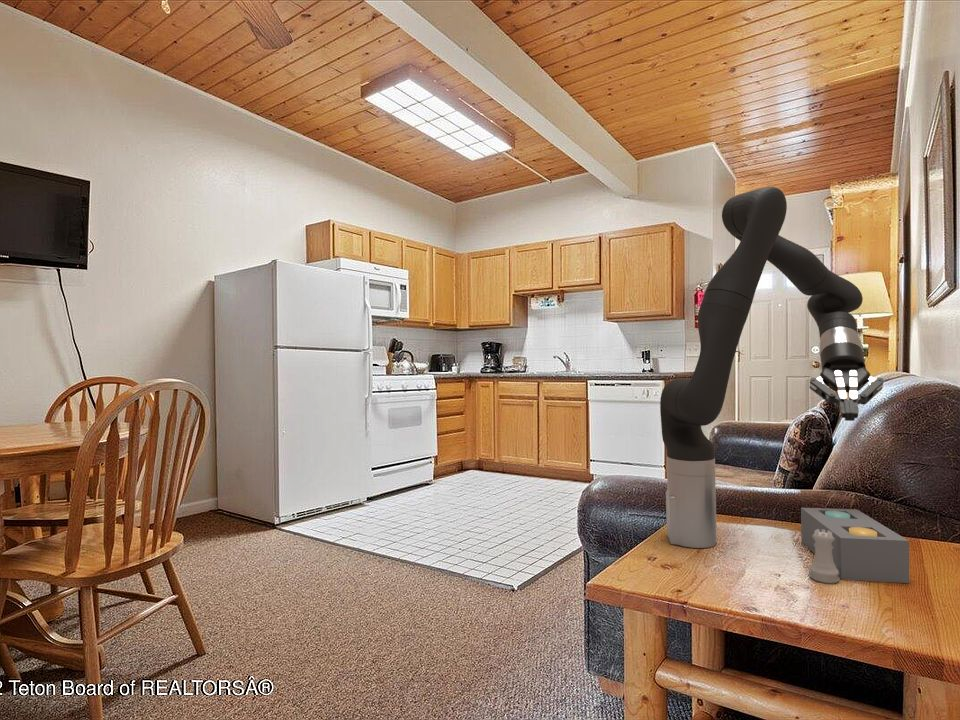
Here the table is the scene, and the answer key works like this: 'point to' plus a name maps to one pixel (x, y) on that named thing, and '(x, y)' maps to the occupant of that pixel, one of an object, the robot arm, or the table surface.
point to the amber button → (862, 531)
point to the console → (859, 546)
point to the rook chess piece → (823, 559)
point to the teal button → (837, 514)
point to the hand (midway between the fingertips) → (850, 418)
